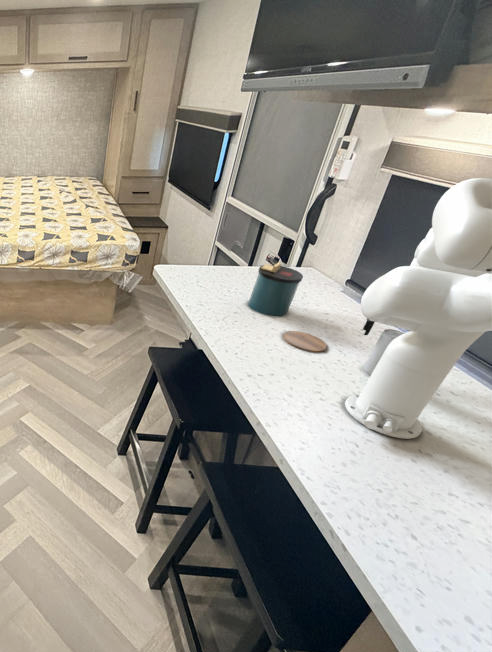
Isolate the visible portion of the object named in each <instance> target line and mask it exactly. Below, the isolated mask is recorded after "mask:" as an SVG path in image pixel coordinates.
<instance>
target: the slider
mask: <svg viewBox="0 0 492 652" xmlns="http://www.w3.org/2000/svg"><path fill="white" fill-rule="evenodd" d="M272 265H274V266H272ZM262 266H263V265H262ZM280 266H282V262H277V263H275V264H267V263H266V264H264V266H263V267H261V266H260V267H261V269H263V270H267V271H270V272H274V273H275V272H276V271H278V270H279V269H280Z"/></svg>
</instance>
